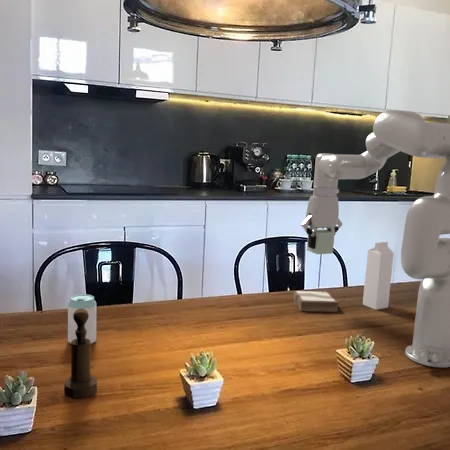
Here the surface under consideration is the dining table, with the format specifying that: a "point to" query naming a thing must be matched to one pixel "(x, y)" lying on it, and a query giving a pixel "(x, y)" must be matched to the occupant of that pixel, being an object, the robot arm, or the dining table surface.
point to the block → (323, 242)
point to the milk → (378, 276)
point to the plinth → (315, 301)
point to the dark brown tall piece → (80, 362)
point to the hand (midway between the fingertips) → (320, 246)
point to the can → (90, 305)
